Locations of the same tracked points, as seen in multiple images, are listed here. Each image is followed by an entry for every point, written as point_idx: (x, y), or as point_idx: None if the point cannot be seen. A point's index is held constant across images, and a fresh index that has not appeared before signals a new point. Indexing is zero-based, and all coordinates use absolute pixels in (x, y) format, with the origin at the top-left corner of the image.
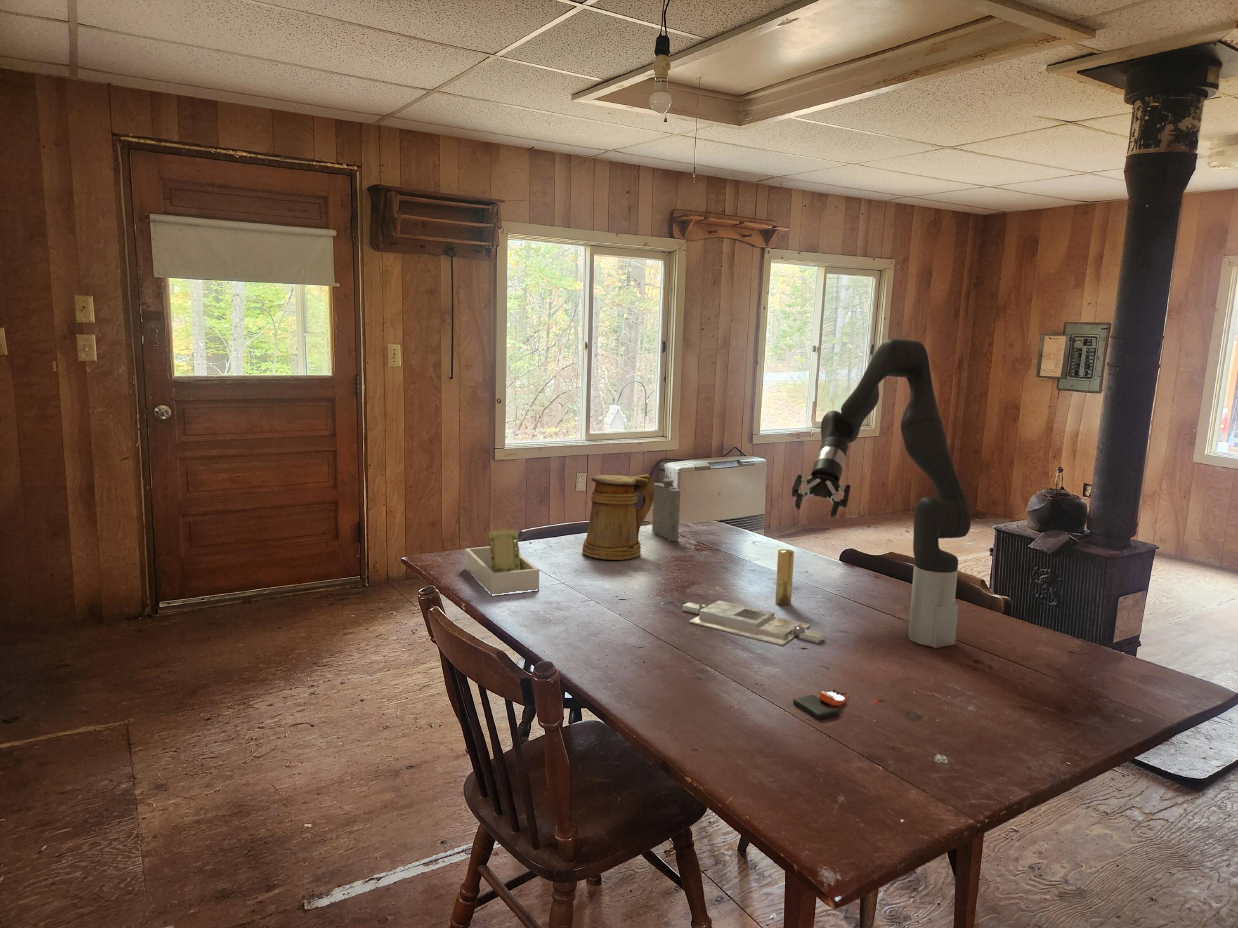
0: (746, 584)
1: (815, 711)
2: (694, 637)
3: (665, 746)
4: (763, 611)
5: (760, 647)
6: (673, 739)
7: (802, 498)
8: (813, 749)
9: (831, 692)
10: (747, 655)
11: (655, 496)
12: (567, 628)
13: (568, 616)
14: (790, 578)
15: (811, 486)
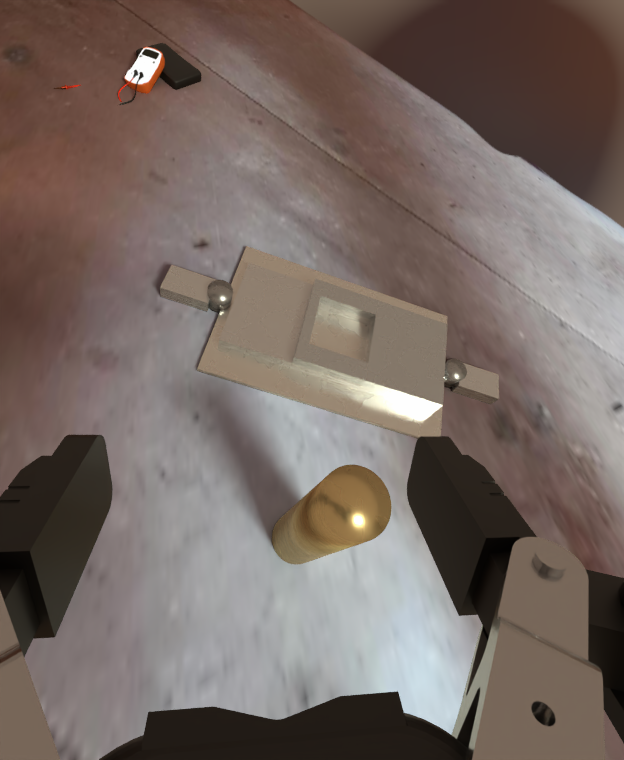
0: None
1: (168, 48)
2: (403, 253)
3: (313, 21)
4: (321, 358)
5: (284, 234)
6: (311, 29)
7: (463, 553)
8: (168, 8)
9: (145, 75)
10: (297, 201)
11: None
12: (575, 248)
13: (611, 293)
14: (296, 505)
15: (498, 699)
